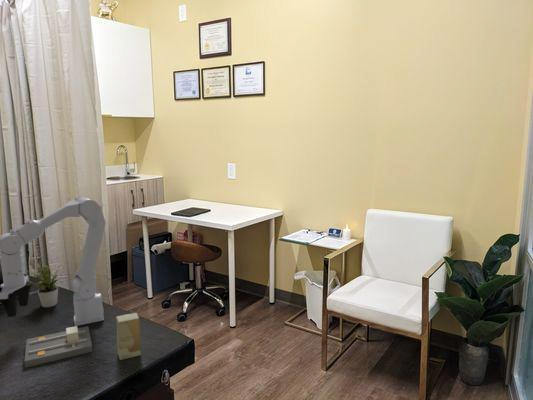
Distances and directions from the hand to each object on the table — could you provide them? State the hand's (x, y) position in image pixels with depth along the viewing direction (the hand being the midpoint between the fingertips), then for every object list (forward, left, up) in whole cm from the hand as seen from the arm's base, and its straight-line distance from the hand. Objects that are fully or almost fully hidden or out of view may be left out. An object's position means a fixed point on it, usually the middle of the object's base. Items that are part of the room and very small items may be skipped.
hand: (18, 310), depth 133 cm
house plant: (-7, -26, -10) cm, 29 cm away
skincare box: (-30, +27, -10) cm, 41 cm away
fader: (-15, +13, -8) cm, 21 cm away
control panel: (-11, +13, -10) cm, 19 cm away
